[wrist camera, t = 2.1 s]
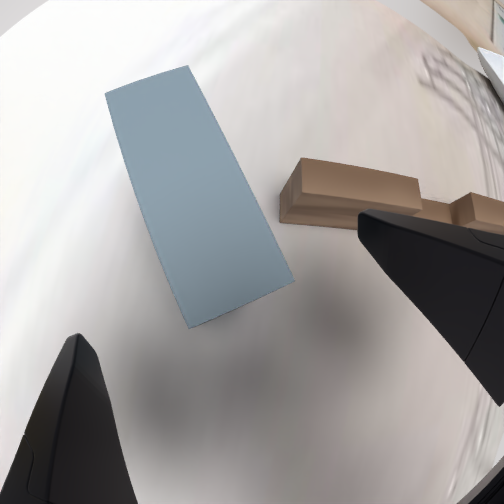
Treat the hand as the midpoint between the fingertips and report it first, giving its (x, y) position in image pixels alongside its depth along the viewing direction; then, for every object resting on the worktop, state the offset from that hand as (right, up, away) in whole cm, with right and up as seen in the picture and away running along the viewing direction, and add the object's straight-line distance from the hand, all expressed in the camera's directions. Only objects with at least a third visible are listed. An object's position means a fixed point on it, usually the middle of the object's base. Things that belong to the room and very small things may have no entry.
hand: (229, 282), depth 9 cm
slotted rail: (+12, +3, +13) cm, 18 cm away
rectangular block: (-3, +1, +10) cm, 11 cm away
